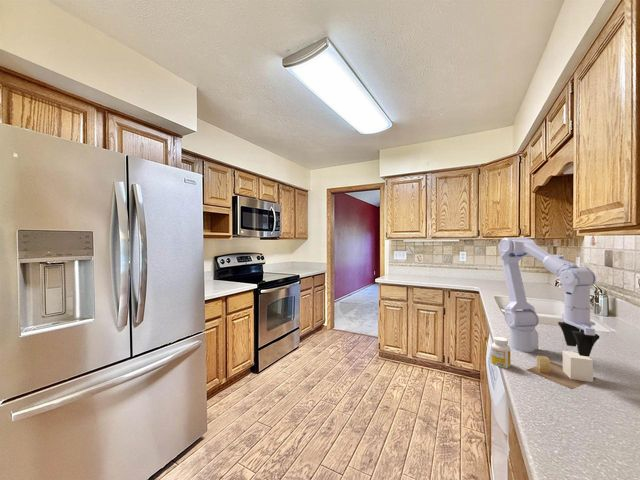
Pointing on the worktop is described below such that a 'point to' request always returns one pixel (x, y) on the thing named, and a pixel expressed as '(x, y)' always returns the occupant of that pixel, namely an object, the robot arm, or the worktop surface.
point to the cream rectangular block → (577, 366)
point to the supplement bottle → (500, 352)
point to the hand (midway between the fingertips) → (577, 350)
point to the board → (558, 376)
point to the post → (543, 364)
